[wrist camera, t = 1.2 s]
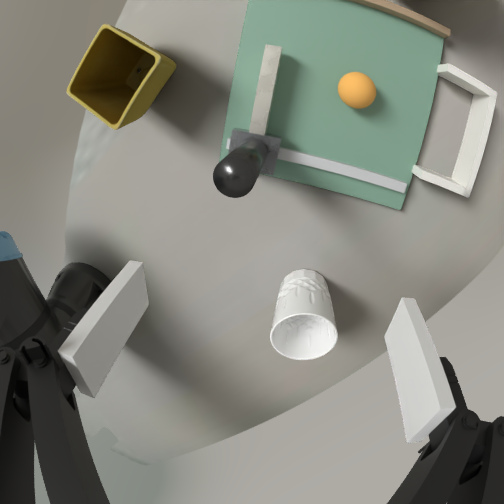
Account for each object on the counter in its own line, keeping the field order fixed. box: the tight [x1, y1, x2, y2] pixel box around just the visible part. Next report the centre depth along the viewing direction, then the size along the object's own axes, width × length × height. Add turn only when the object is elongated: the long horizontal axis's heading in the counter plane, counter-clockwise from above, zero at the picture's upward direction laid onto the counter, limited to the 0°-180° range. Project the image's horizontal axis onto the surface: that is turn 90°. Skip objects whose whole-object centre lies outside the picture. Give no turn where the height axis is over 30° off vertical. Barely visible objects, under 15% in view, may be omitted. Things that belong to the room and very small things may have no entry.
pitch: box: [219, 0, 451, 210], centre depth 27 cm, size 22×24×3 cm
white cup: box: [270, 269, 338, 360], centre depth 37 cm, size 8×8×10 cm
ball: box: [338, 72, 376, 109], centre depth 25 cm, size 4×4×4 cm
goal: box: [412, 63, 497, 198], centre depth 26 cm, size 8×14×4 cm, turn 170°
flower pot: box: [66, 24, 176, 130], centre depth 26 cm, size 9×9×9 cm
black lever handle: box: [213, 44, 283, 198], centre depth 24 cm, size 5×14×12 cm, turn 170°
